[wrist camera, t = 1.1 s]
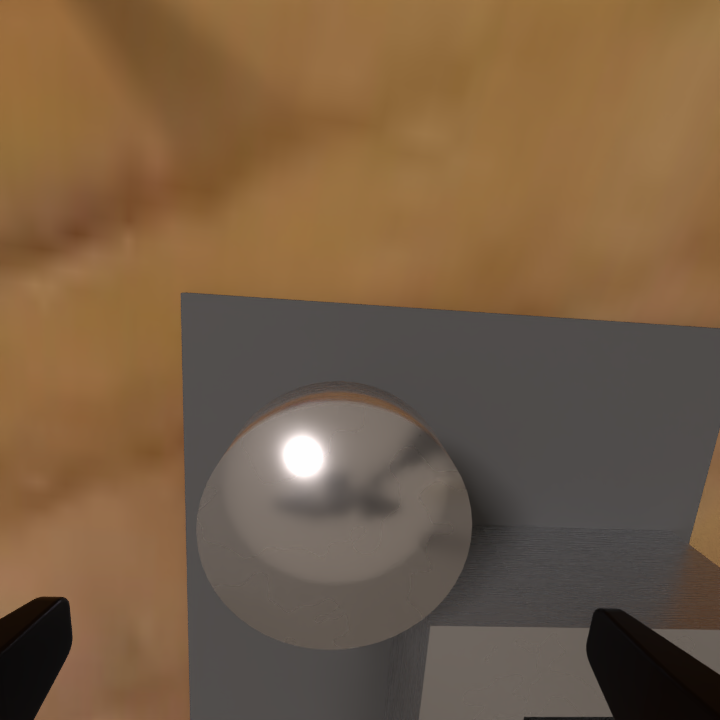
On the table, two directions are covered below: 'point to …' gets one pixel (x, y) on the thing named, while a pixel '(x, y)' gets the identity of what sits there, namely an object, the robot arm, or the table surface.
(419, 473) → the silver door knob
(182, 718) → the table surface
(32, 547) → the table surface
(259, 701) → the mat
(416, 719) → the hitch block
